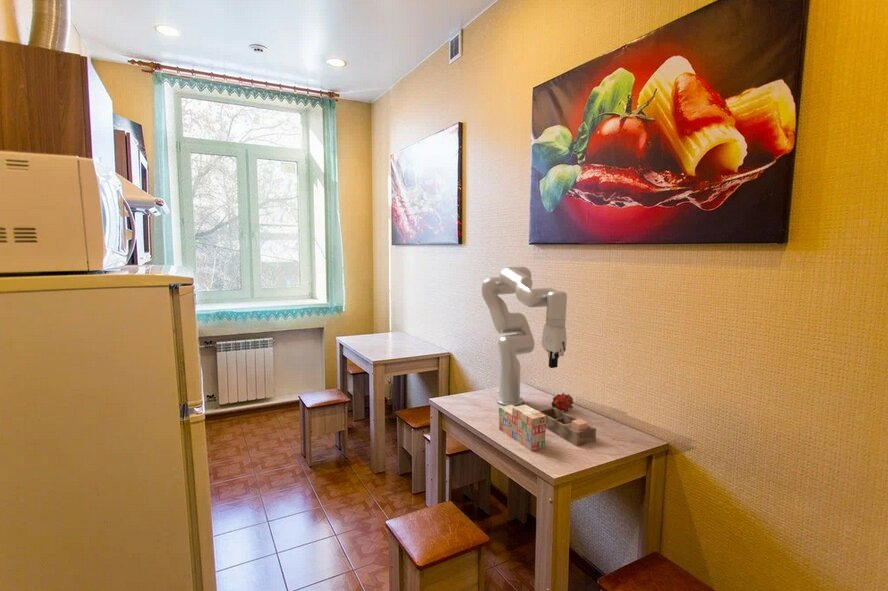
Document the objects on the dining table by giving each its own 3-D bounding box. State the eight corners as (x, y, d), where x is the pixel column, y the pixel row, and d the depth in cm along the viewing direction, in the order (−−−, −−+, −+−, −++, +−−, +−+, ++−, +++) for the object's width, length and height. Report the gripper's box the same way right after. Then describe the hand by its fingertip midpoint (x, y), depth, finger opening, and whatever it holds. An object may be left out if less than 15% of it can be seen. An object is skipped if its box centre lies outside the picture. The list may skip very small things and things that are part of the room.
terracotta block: (571, 431, 164) (571, 420, 163) (579, 429, 165) (579, 419, 165) (578, 435, 160) (579, 424, 160) (587, 433, 162) (587, 422, 161)
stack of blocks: (498, 429, 173) (498, 399, 172) (511, 426, 176) (512, 397, 174) (531, 451, 154) (532, 418, 153) (545, 448, 157) (546, 415, 155)
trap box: (536, 422, 179) (536, 410, 179) (553, 418, 183) (553, 407, 182) (576, 446, 158) (577, 433, 157) (595, 441, 161) (596, 428, 161)
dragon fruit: (573, 412, 195) (554, 421, 189) (561, 397, 200) (542, 405, 194) (581, 401, 189) (562, 410, 183) (568, 385, 194) (549, 394, 188)
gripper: (536, 319, 177) (534, 362, 180) (560, 327, 164) (557, 374, 166) (551, 318, 180) (548, 360, 183) (576, 325, 167) (573, 371, 170)
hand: (553, 367), depth 175 cm, fingers closed
